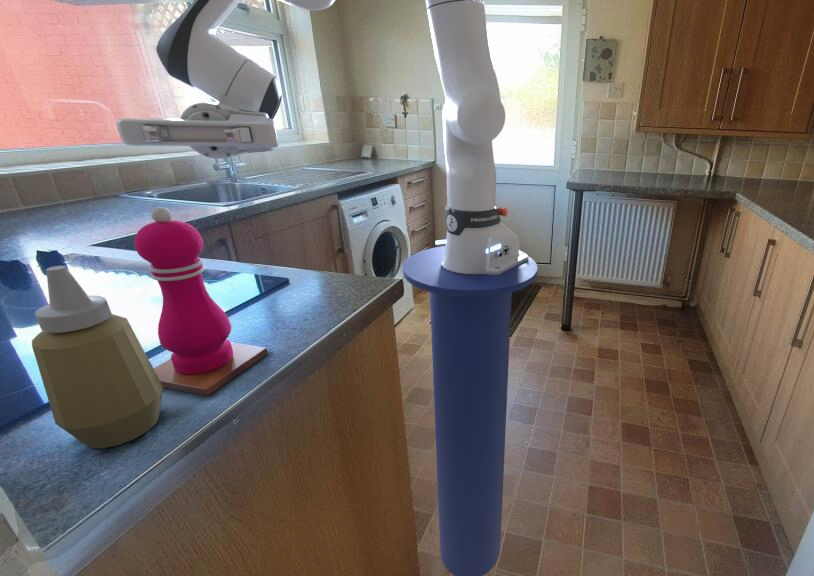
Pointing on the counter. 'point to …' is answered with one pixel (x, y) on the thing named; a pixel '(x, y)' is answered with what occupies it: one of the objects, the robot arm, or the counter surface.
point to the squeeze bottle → (93, 367)
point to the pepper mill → (184, 296)
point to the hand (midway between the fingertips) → (192, 135)
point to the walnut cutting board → (212, 379)
